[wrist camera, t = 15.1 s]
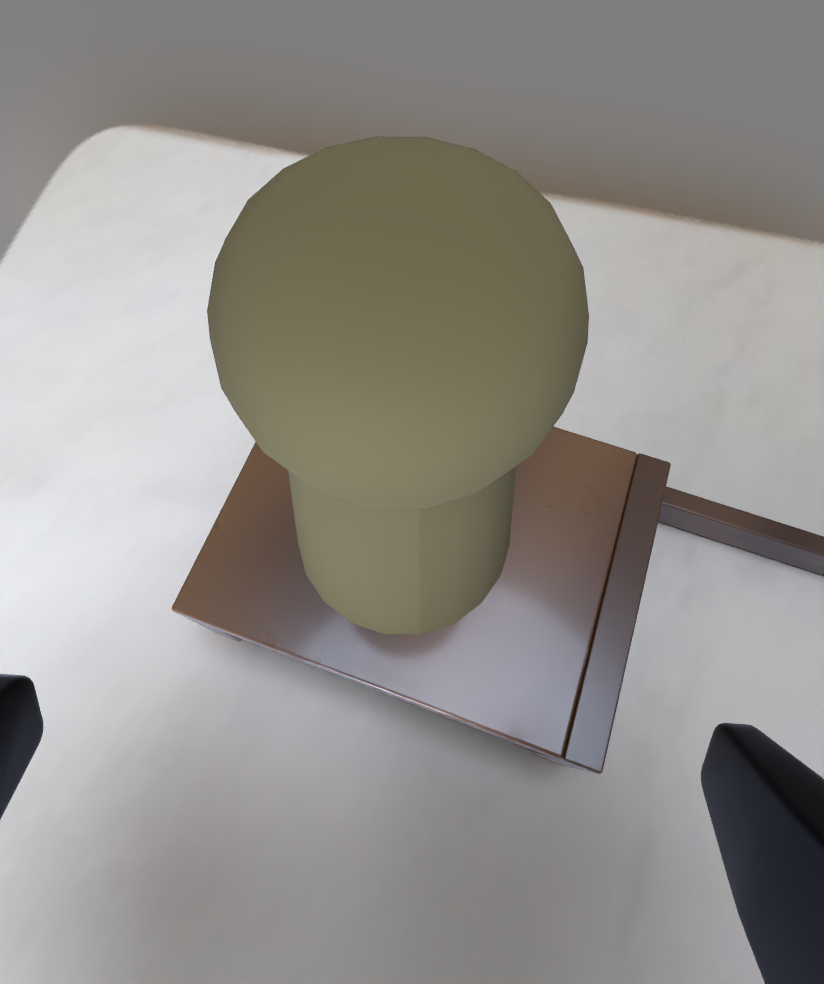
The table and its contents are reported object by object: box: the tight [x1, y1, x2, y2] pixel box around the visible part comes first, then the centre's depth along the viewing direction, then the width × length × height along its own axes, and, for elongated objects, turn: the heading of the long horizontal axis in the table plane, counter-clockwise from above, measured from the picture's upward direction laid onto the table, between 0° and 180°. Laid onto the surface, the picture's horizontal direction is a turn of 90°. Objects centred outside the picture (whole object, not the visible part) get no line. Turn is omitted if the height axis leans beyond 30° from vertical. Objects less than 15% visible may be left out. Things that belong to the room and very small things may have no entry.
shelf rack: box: [172, 427, 824, 774], centre depth 18 cm, size 24×10×4 cm, turn 70°
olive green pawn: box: [207, 137, 589, 635], centre depth 12 cm, size 6×6×11 cm
